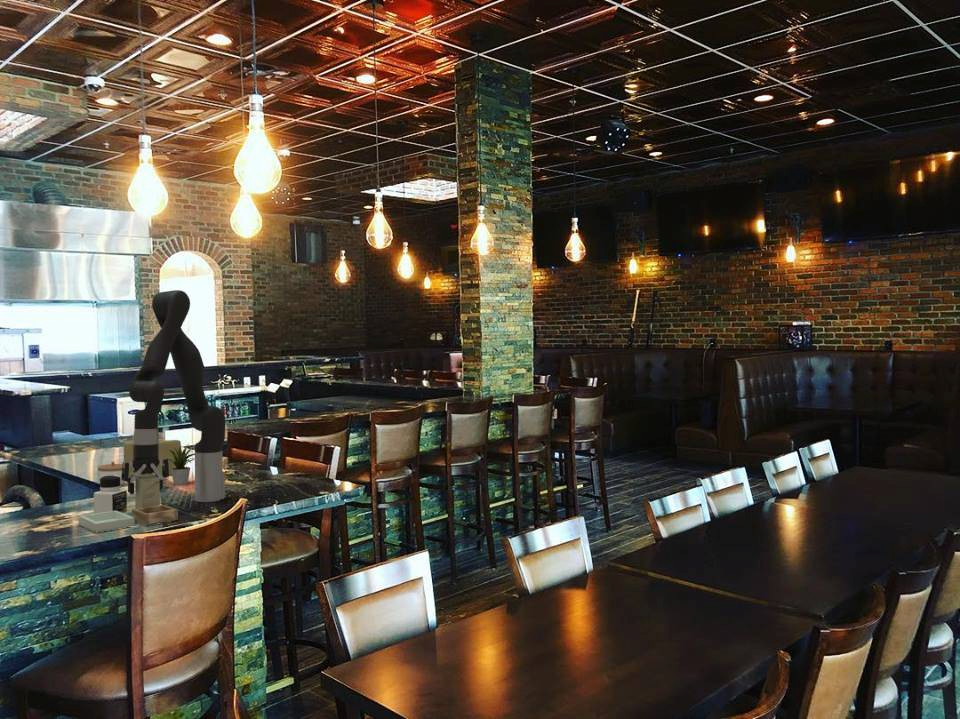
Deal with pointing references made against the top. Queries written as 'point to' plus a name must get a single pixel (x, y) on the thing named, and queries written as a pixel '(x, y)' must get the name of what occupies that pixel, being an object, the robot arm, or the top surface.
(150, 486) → the skincare box
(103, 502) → the medicine bottle
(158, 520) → the wooden square box
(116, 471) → the lidded jar
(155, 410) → the robot arm
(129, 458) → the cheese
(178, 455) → the house plant
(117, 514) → the tray
